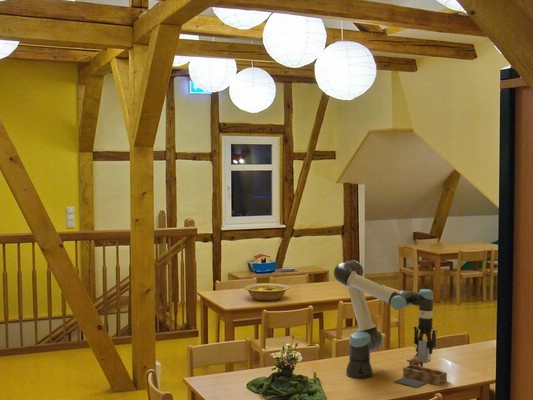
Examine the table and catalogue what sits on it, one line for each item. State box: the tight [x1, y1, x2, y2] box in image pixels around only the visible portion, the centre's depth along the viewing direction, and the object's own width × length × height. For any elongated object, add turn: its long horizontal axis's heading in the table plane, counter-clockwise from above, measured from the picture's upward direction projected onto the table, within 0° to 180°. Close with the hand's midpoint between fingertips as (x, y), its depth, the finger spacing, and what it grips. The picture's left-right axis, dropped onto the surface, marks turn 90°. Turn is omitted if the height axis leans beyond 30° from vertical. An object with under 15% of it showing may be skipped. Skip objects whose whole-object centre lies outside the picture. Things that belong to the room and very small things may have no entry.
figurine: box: [406, 347, 424, 367], centre depth 400 cm, size 7×22×15 cm, turn 137°
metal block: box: [418, 338, 432, 364], centre depth 384 cm, size 5×5×12 cm
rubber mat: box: [393, 376, 427, 389], centre depth 377 cm, size 14×10×1 cm
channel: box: [402, 364, 448, 386], centre depth 384 cm, size 22×9×5 cm, turn 47°
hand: (424, 358), depth 384 cm, fingers closed on metal block, 5 cm apart
